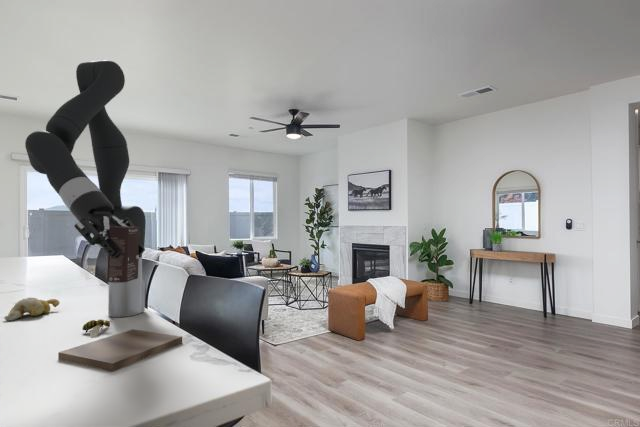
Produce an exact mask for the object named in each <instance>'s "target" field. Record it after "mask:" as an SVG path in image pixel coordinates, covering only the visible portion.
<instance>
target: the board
mask: <svg viewBox="0 0 640 427" xmlns="http://www.w3.org/2000/svg"><path fill="white" fill-rule="evenodd" d="M181 344H183V336H182V335H181V336H180V335H174V334H167V333H162V332H161V333H159V332H155V331H147V330H140V329H135V328H133V329H129V330H125V331H122V332H120V333H116V334H113V335H110V336H106V337H104V338H103V337H102V338H99V339H97V340H94V341H90V342H88V343H84V344H79V345H78V346H74V347H71V348H67V349H64V350H61V351H58V353H57V354H58V360H59V361H63V362H67V363H72V364H77V365H82V366H86V367H91V368H94V369H95V368H96V369H99V370H105V371H108V372H114V371H117V370H120V369H122V368H124V367H127V366H129V365H132V364H134V363H136V362H137V363H138V362H139V361H142V360H144V359H146V358H149V357H152V356H154V355H157V354H159V353H161V352H164V351H165V350H169V349H171V348H174V347H176V346H178V345H181Z"/></svg>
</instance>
